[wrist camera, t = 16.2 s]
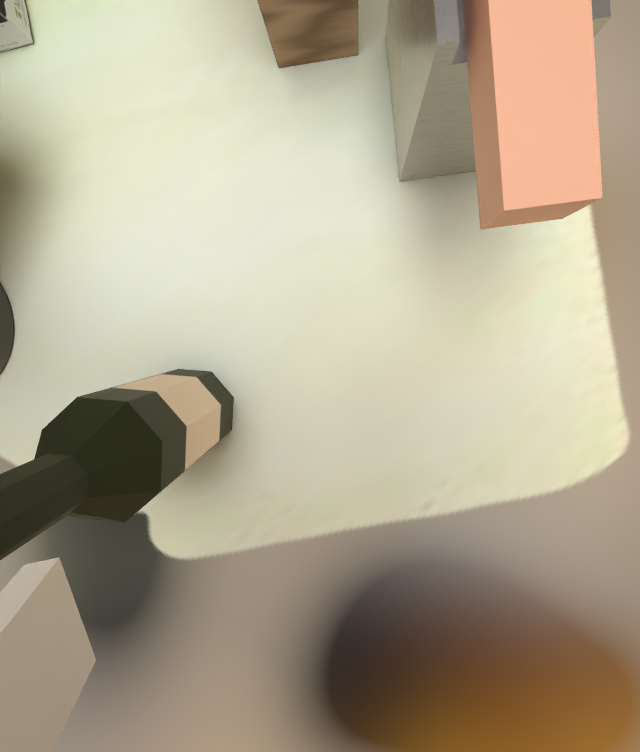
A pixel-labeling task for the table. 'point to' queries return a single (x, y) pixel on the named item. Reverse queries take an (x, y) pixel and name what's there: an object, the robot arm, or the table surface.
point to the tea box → (14, 25)
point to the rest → (435, 85)
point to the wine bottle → (113, 452)
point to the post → (311, 29)
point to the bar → (532, 108)
